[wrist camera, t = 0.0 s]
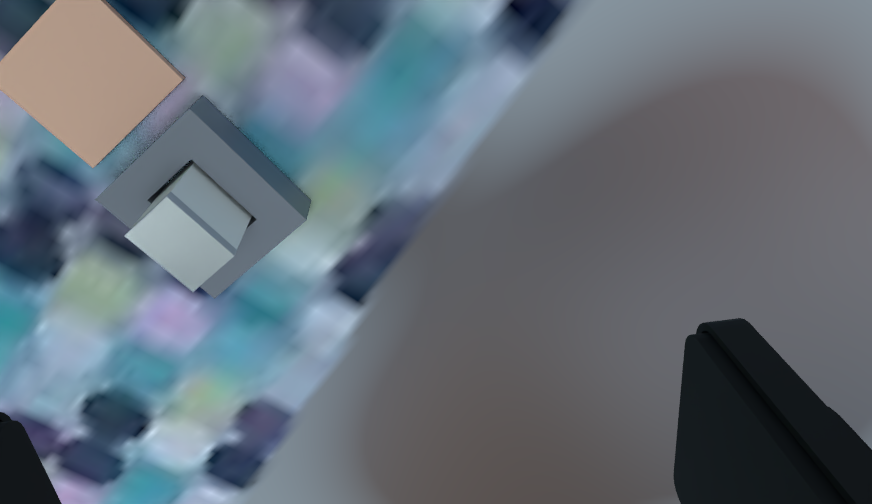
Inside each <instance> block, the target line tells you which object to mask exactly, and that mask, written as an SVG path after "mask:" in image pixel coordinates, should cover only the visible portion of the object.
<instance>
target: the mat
mask: <svg viewBox="0 0 872 504" xmlns="http://www.w3.org/2000/svg"><path fill="white" fill-rule="evenodd" d="M184 79H185V77H184V76H183V75H182V74H181V73H180V72H179V71H178V70H177V69H176V68H175V67H173V66H172V65H171V64H170V63H169V62H168V61H167V60H166V59H165V58H164V57H163V56H162V55H161V54H160V53H159V52H158V51H157V50H156V49H155V48H154V47H153V46H152V45H151V44H150V43H149V42H148V41H147V40H146V39H145V38H144V37H143V36H142V35H141V34H140V33H139V32H138V31H137V30H135V29H134V28H133V27H132V26H131V25H130V24H129V23H128V22H127V21H126V20H125V19H124V18H123V17H122V16H121V15H120V14H119V13H118V12H117V11H116V10H115V9H114V8H113V7H112V6H111V5H110V4H109V3H108V2H107V1H106V0H56V1H55V2H54V3H53V4H52V5H51V6H50V8H49V9H48V10H47V11H46V12H45V13H44V14H43V15H42V16H41V17H40V19H39V20H38V21H37V22H36V23H35V24H34V25H33V26H32V27H31V28H30V29H29V31H28V32H27V33H26V34H25V35H24V36H23V37H22V38H21V39H20V40H19V42H18V43H17V44H16V45H15V46H14V47H13V48H12V49H11V50H10V51H9V53H8V54H7V55H6V56H5V57H4V58H3V59H2V60H1V61H0V90H1V91H2V92H4V93H5V94H6V95H7V96H8V97H10V98H11V99H12V100H13V101H14V102H15V103H17V104H18V105H19V106H20V107H21V108H23V109H24V110H25V111H26V112H27V113H28V114H30V115H31V116H32V117H33V118H34V119H35V120H37V121H38V122H39V123H40V124H41V125H43V126H44V127H45V128H46V129H47V130H48V131H50V132H51V133H52V134H53V135H54V136H56V137H57V138H58V139H59V140H60V141H61V142H63V143H64V144H65V145H66V146H67V147H68V148H70V149H71V150H72V151H73V152H74V153H76V154H77V155H78V156H79V157H80V158H81V159H83V160H84V161H85V162H86V163H87V164H89V165H90V166H91V167H92V168H94V167H95V166H96V165H97V164H98V163H99V162H100V161H101V160H102V159H103V158H104V157H105V156H106V155H107V154H108V153H109V152H110V151H112V150H113V149H114V148H115V147H116V146H117V145H118V144H119V143H120V142H121V141H122V140H123V139H124V138H125V137H126V136H127V135H128V134H129V133H130V132H131V131H132V130H133V129H134V128H135V127H136V126H137V125H138V124H139V123H140V122H141V121H142V120H143V119H144V118H145V117H146V116H147V115H148V114H149V113H150V112H151V111H152V110H153V109H154V108H155V107H156V106H157V105H158V104H159V103H160V102H161V101H162V100H163V99H164V98H165V97H166V96H167V95H168V94H169V93H170V92H171V91H173V90H174V89H175V88H176V87H177V86H178V85H179V84H180V83H181V82H182V81H183V80H184Z"/></svg>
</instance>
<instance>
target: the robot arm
mask: <svg viewBox="0 0 872 504" xmlns="http://www.w3.org/2000/svg"><path fill="white" fill-rule="evenodd" d="M674 484H675V488H676V492H677V495H678V498H679V500H680V502H681V504H872V450H871V448H869V447H868V445H867V444H866V443H865V442H864V441H863V440H862V439H861V438H860V437H859V436H858V435H857V434H856V432H855V431H854V430H853V429H852V428H851V427H850V426H849V425H848V424H847V423H846V422H845V421H844V420H843V419H842V418H841V417H840V415H838V414H837V413H836V412H835V411H833V410H832V409H831V408H830V407H827V406H826V405H825V404H824V403H823V401H821V399H820V398H819V397H818V396H817V395H816V394H815V393H814V392H813V391H812V390H811V389H810V388H809V386H808V385H807V384H806V383H805V382H804V381H803V380H802V379H801V378H800V377H799V376H798V375H797V374H796V372H794V370H793V369H792V368H791V367H790V366H789V365H788V364H787V363H786V362H785V361H784V360H783V359H782V358H781V356H780V355H779V354H778V353H777V352H776V351H775V350H774V349H773V348H772V347H771V346H770V345H769V344H768V343H767V341H766V340H765V339H764V338H763V337H762V336H761V335H760V334H759V333H758V332H757V331H756V330H755V328H754V327H753V326H752V325H751V324H750V323H749V322H748V321H746V320H745V319H741V318H738V319H731V320H722V321H715V322H706V323H702V324H700V325H699V327H698V329H697V332H696V334H693V335H689V336H688V337H687V339H686V342H685V350H684V362H683V373H682V384H681V396H680V407H679V418H678V430H677V441H676V454H675V464H674ZM0 504H61V502H60V500H59V498H58V496H57V494H56V492H55V489H54V487H53V485H52V483H51V481H50V479H49V477H48V475H47V473H46V471H45V469H44V467H43V465H42V463H41V461H40V459H39V457H38V455H37V453H36V451H35V449H34V447H33V445H32V443H31V441H30V439H29V437H28V435H27V433H26V431H25V428H24V427H23V426H22V424H21V423H19V422H18V421H12V420H11V419H10V417H9V416H8V415H6V414H5V413H3V412H0Z"/></svg>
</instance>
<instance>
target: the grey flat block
mask: <svg viewBox="0 0 872 504" xmlns="http://www.w3.org/2000/svg"><path fill="white" fill-rule="evenodd" d="M190 160H193V161H194V162H195V163H196V164H197V165H198V166H199V167H200V168H201V169H202V170H203V171H205V172H206V173H207V174H208V175H209V176H210V177H211V178H212V179H213V180H214V181H215V182H217V183H218V184H219V185H220V186H221V187H222V188H223V189H224V190H225V191H226V192H227V193H228V194H230V195H231V196H232V197H233V198H234V199H235V200H236V201H237V202H238V203H239V204H240V205H242V206H243V207H244V208H245V209H246V210H247V211H248V212H249V213H250V214H251V215H252V217H251V219H250V221H249V224H248V226H247V228H246V230H245V233H244V235H243V237H242V239H241V242H240V244H239V246H238V248H237V252H236V254H235V256H234V257H233V258H232V259H231V260H229V261H228V262H227V263H226V264H225V265H224V266H222V267H221V268H220V269H219V270H218V271H217V272H216V273H214V274H213V275H212V276H211V277H210V278H209V279H207V280H206V281H205V282H204V283H203V284H202V285H201V286H200V287H201V288H202V289H204V290H205V291H206V292H207V293H208V294H210V295H211V296H212V297H213V298H214V299H215V298H216V297H217V296H218V295H219V294H220V293H222V292H223V291H224V290H225V289H226V288H227V287H229V286H230V285H231V284H232V283H233V282H234V281H236V280H237V279H238V278H239V277H240V276H242V275H243V274H244V273H245V272H246V271H247V270H249V269H250V268H251V267H252V266H253V265H254V264H256V263H257V262H258V261H259V260H260V259H261V258H263V257H264V256H265V255H266V254H267V253H268V252H270V251H271V250H272V249H273V248H274V247H275V246H277V245H278V244H279V243H280V242H281V241H282V240H284V239H285V238H286V237H287V236H288V235H289V234H291V233H292V232H293V231H294V230H295V229H296V228H298V227H299V226H300V225H301V224H302V223H304V222H305V221H306V220H307V216H308V212H309V208H310V204H311V200H310V199H309V198H308V197H307V196H306V195H305V194H304V193H303V192H302V191H301V190H300V189H299V188H298V187H297V186H296V185H295V184H294V183H293V182H292V181H291V180H290V179H289V178H288V177H287V176H286V175H284V174H283V173H282V172H281V171H280V170H279V169H278V168H277V167H276V166H275V165H274V164H273V163H272V162H271V161H270V160H269V159H268V158H267V157H266V156H265V155H264V154H263V153H262V152H261V151H260V150H259V149H258V148H257V147H256V146H255V145H254V144H253V143H252V142H251V141H250V140H249V139H247V138H246V137H245V136H244V135H243V134H242V133H241V132H240V131H239V130H238V129H237V128H236V127H235V126H234V125H233V124H232V123H231V122H230V121H229V120H228V119H227V118H226V117H225V116H224V115H223V114H222V113H221V112H220V111H219V110H218V109H217V108H216V107H215V106H214V105H213V104H212V103H210V102H209V101H208V100H207V99H206V98H205V97H204V96H202V97H201V98H200V99H199V100H198V101H197V102H196V103H195V104H194V105H193V106H191V107H190V108H189V109H188V110H187V111H186V112H185V113H184V114H183V115H182V116H181V117H180V118H179V119H178V120H177V121H176V122H175V123H174V124H173V125H172V126H171V127H170V128H169V129H168V130H167V131H166V132H165V133H163V134H162V135H161V136H160V137H159V138H158V139H157V140H156V141H155V142H154V143H153V144H152V145H151V146H150V147H149V148H148V149H147V150H146V151H145V152H144V153H143V154H142V155H141V156H140V157H139V158H138V159H137V160H136V161H134V162H133V163H132V164H131V165H130V166H129V167H128V168H127V169H126V170H125V171H124V172H123V173H122V174H121V175H120V176H119V177H118V178H117V179H116V180H115V181H114V182H113V183H112V184H111V185H110V186H109V187H108V188H107V189H105V190H104V191H103V192H102V193H101V194H100V195H99V196H98V197H97V198H96V199H95V200H96V201H97V202H98V203H100V204H101V205H102V206H103V207H104V208H106V209H107V210H108V211H109V212H111V213H112V214H113V215H114V216H115V217H117V218H118V219H119V220H120V221H121V222H123V223H124V224H125V225H126V226H127V227H129V228H130V229H131V228H132V227H133V225H134V224H135V223H136V222H137V221H138V219H139V218H140V217H141V216H142V215H143V213H144V212H145V211H146V210H147V209H148V207H149V206H150V205H151V204H152V202H153V201H154V200H155V199H156V198H157V196H158V195H159V194H160V193H161V192H162V190H163V189H164V188H165V187H166V184H165V183H166V182H167V181H168V180H169V179H170V178H172V177H173V176H174V175H175V174H176V173H177V172H178V171H179V170H180V169H181V168H182V167H183V166H184V165H185V164H186V163H187V162H189V161H190Z"/></svg>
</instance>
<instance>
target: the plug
mask: <svg viewBox="0 0 872 504" xmlns="http://www.w3.org/2000/svg"><path fill="white" fill-rule="evenodd" d="M251 217H252V215H251V214H250V213H249V212H248V211H247V210H246V209H245V208H244V207H243V206H242V205H240V204H239V203H238V202H237V201H236V200H235V199H234V198H233V197H232V196H231V195H230V194H228V193H227V192H226V191H225V190H224V189H223V188H222V187H221V186H220V185H219V184H218V183H217V182H215V181H214V180H213V179H212V178H211V177H210V176H209V175H208V174H207V173H206V172H205V171H203V170H202V169H201V168H200V167H199V166H198V165H197V164H196V163H195V162H194V161H193V160H192V161H191V162H190V163H189V164H188V165H187V166H186V167H185V168H184V169H183V170H182V171H181V172H179V173H178V174H177V175H176V176H175V177H174V178H173V179H172V180H171V181H170V182H169V183H168V184H167V185H166V187H165V188H164V189H163V190H162V192H161V193H160V194H159V195H158V196H157V198H156V199H155V200H154V201H153V202H152V204H151V205H150V206H149V207H148V209H147V210H146V211H145V212H144V213H143V215H142V216H141V217H140V218H139V219H138V221H137V222H136V223H135V224H134V225H133V227H132V228H131V229H130V230H129V231H128V232H127V233H126V235H125V237H126V238H127V239H129V240H130V241H131V242H132V243H134V244H135V245H136V246H137V247H138V248H140V249H141V250H142V251H143V252H145V253H146V254H147V255H148V256H149V257H151V258H152V259H153V260H154V261H156V262H157V263H158V264H159V265H160V266H162V267H163V268H164V269H165V270H167V271H168V272H169V273H170V274H171V275H173V276H174V277H175V278H176V279H178V280H179V281H180V282H181V283H182V284H184V285H185V286H186V287H187V288H188V289H190V290H191V291H192V292H194V291H195V290H196V289H197V288H198V287H199V286H201V285H202V284H203V283H204V282H205V281H206V280H207V279H209V278H210V277H211V276H212V275H213V274H214V273H216V272H217V271H218V270H219V269H220V268H221V267H222V266H224V265H225V264H226V263H227V262H228V261H229V260H231V259H232V258H233V257H234V256H235V254H236V252H237V248H238V246H239V244H240V242H241V239H242V237H243V235H244V233H245V230H246V228H247V226H248V224H249V221H250V219H251Z"/></svg>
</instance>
